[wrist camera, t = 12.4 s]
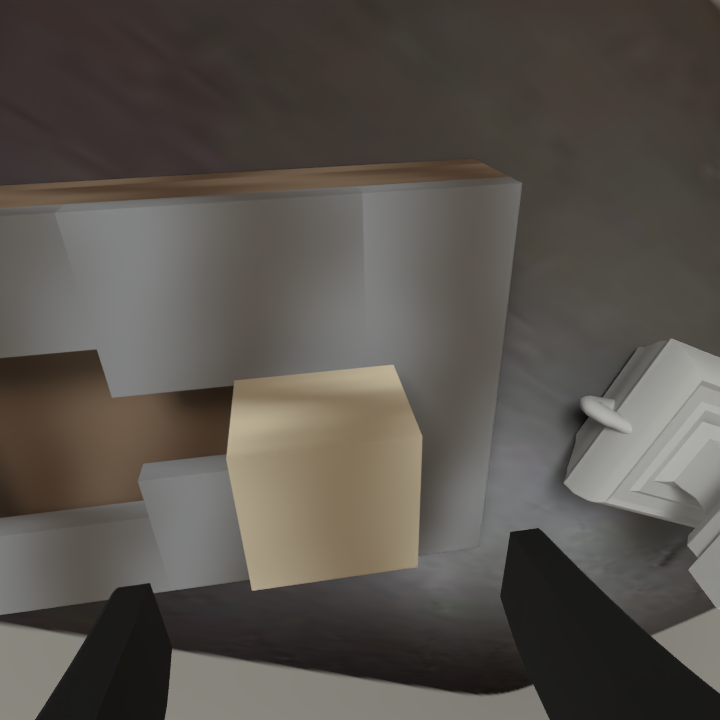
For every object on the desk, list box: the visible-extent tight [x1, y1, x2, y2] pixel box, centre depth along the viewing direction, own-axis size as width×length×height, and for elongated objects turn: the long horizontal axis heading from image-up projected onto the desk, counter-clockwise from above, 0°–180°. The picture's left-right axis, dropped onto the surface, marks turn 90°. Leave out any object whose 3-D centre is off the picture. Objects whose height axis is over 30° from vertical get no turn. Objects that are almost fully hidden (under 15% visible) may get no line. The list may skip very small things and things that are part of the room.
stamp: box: [564, 339, 720, 609], centre depth 19 cm, size 9×7×8 cm
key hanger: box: [226, 365, 422, 591], centre depth 15 cm, size 5×5×7 cm
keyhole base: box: [0, 159, 522, 615], centre depth 17 cm, size 18×13×4 cm
